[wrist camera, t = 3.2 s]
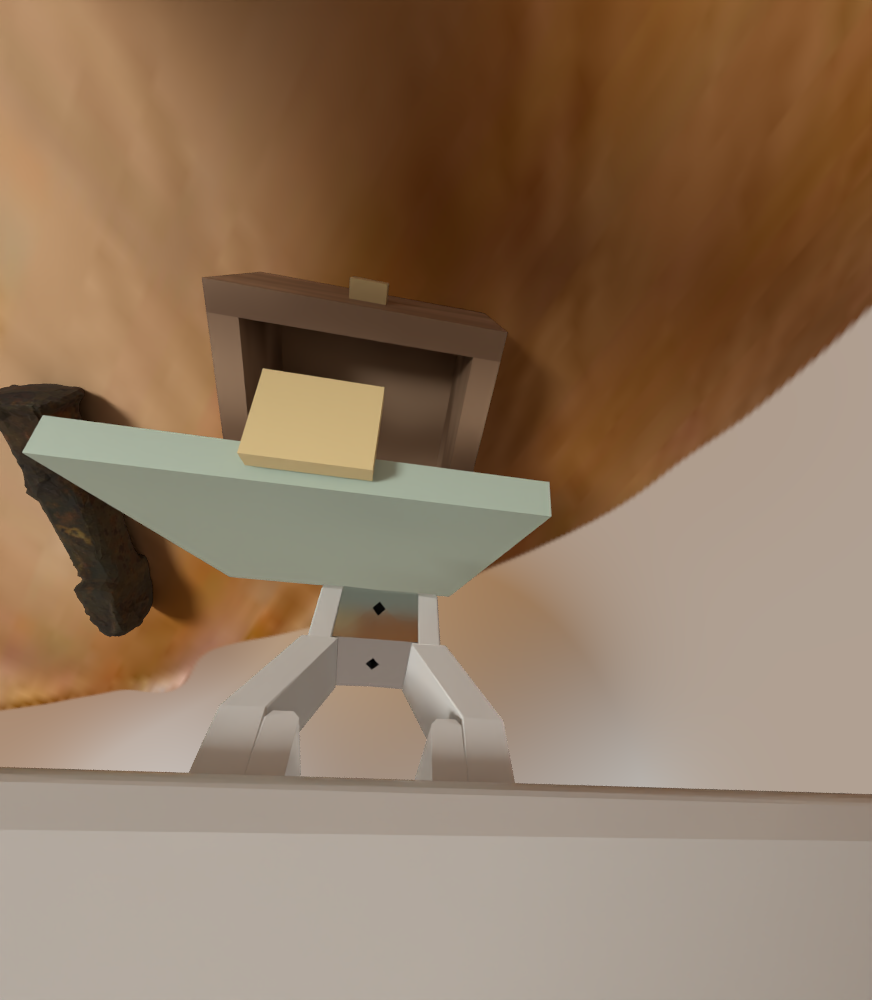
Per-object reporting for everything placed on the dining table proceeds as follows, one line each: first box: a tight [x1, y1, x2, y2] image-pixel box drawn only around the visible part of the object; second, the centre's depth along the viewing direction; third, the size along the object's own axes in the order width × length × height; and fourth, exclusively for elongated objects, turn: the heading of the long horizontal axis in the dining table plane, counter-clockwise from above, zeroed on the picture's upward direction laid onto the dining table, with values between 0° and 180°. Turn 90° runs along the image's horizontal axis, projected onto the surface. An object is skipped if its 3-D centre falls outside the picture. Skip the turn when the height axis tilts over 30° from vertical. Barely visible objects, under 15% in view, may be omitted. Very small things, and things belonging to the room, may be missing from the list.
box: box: [202, 272, 508, 472], centre depth 21 cm, size 15×12×6 cm
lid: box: [22, 368, 551, 597], centre depth 16 cm, size 15×12×3 cm
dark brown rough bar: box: [0, 384, 153, 637], centre depth 26 cm, size 19×4×5 cm, turn 173°
